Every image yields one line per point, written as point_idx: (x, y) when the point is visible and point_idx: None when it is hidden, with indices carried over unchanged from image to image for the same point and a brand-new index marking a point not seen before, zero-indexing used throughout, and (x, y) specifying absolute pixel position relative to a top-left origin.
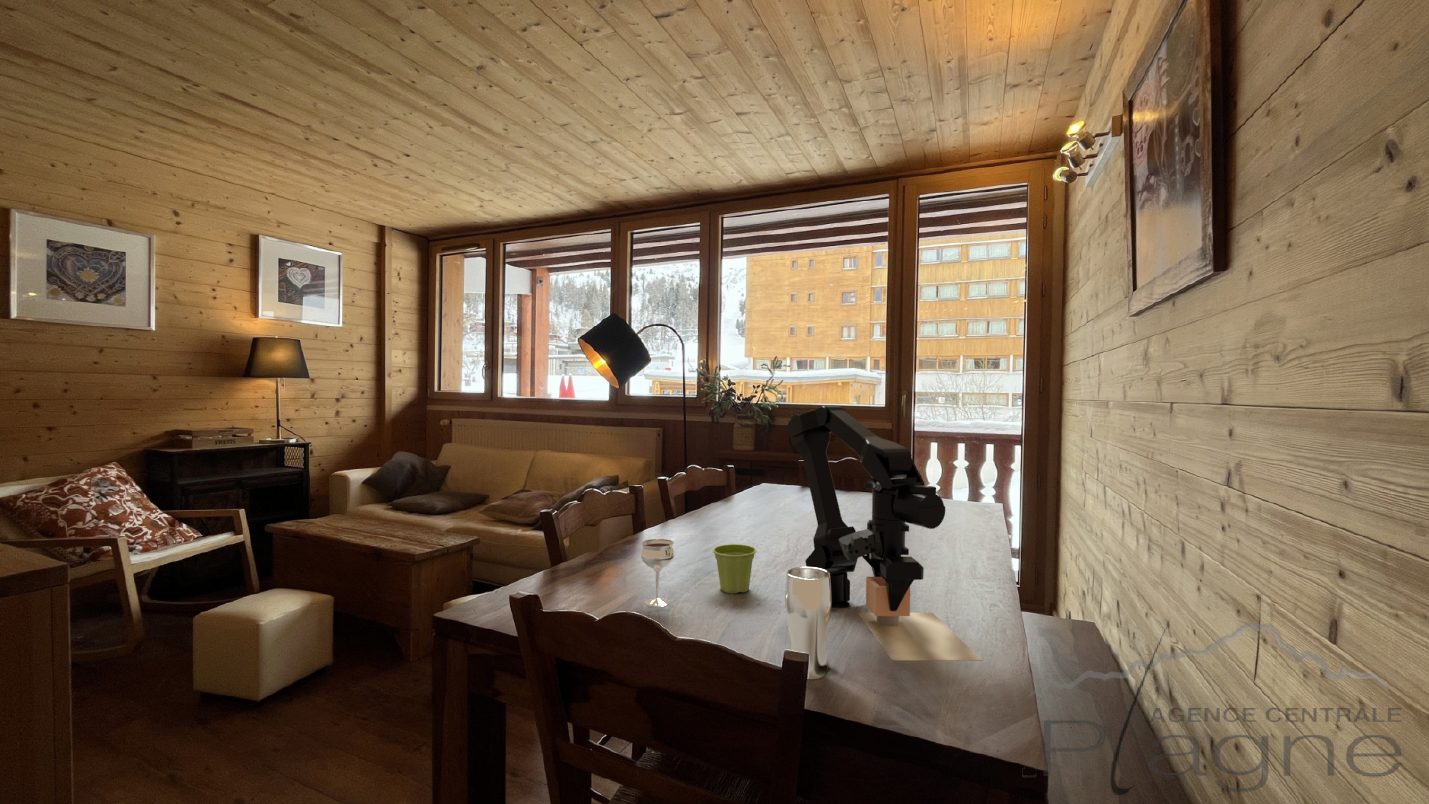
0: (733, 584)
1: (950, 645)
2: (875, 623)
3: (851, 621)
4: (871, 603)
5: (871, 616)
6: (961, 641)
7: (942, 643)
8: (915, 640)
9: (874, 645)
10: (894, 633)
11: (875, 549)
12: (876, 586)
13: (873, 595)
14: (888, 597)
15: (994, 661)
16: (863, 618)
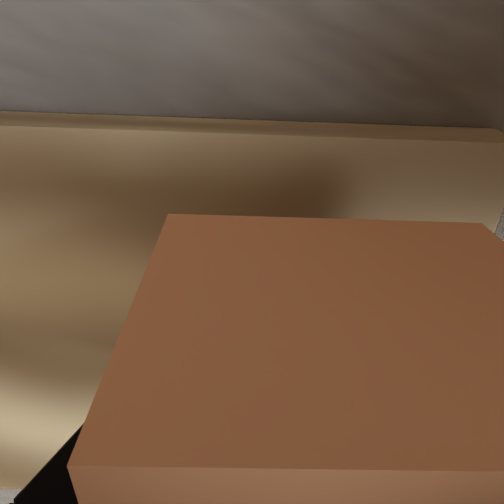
0: None
1: (8, 445)
2: (291, 207)
3: (498, 76)
4: (308, 252)
5: (423, 220)
6: None
7: (21, 427)
8: (33, 339)
9: (73, 111)
10: (119, 269)
11: None
12: (136, 485)
13: (233, 324)
14: None
15: (5, 497)
16: (401, 151)
